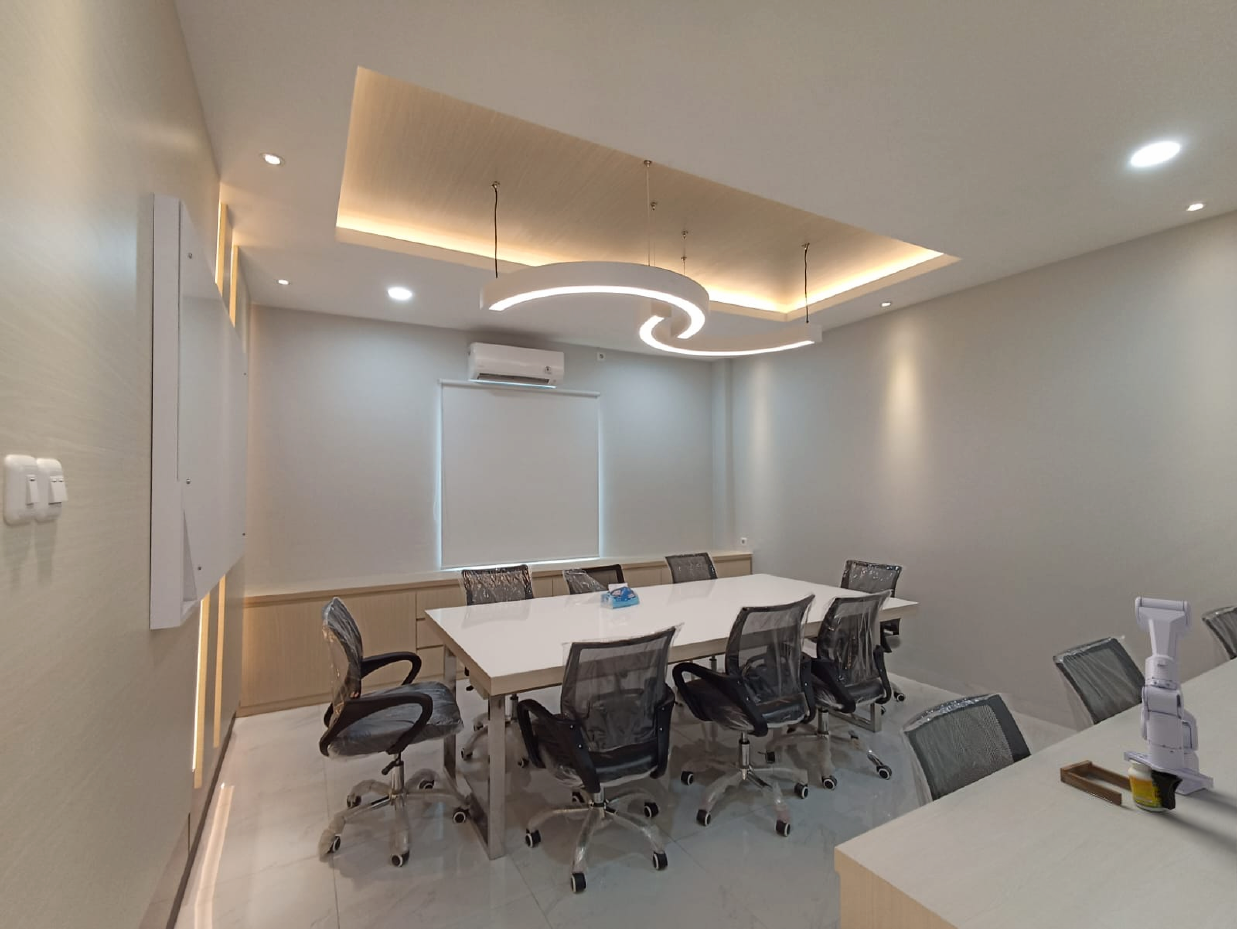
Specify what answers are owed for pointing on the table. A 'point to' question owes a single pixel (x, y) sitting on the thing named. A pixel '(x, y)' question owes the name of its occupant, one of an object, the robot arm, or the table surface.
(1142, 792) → the supplement bottle
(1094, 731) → the table surface
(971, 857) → the table surface
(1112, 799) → the walnut slot rack
